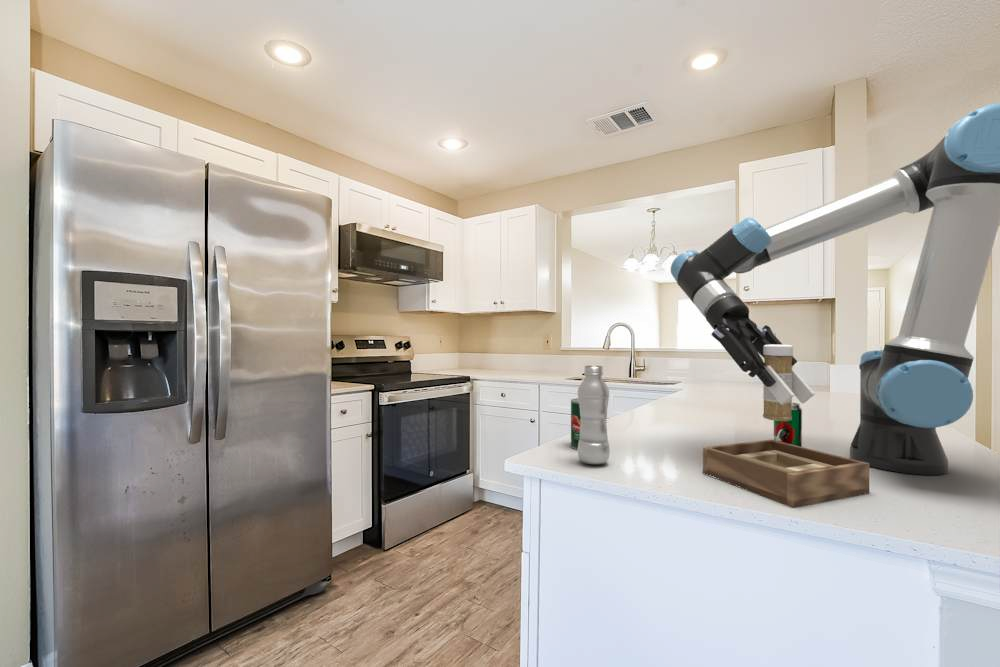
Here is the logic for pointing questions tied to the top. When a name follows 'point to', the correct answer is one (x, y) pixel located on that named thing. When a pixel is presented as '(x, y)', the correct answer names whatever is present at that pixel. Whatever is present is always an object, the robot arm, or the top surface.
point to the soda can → (790, 427)
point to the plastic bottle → (593, 417)
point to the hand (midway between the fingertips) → (798, 399)
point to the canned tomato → (575, 423)
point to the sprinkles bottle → (782, 365)
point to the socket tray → (787, 471)
